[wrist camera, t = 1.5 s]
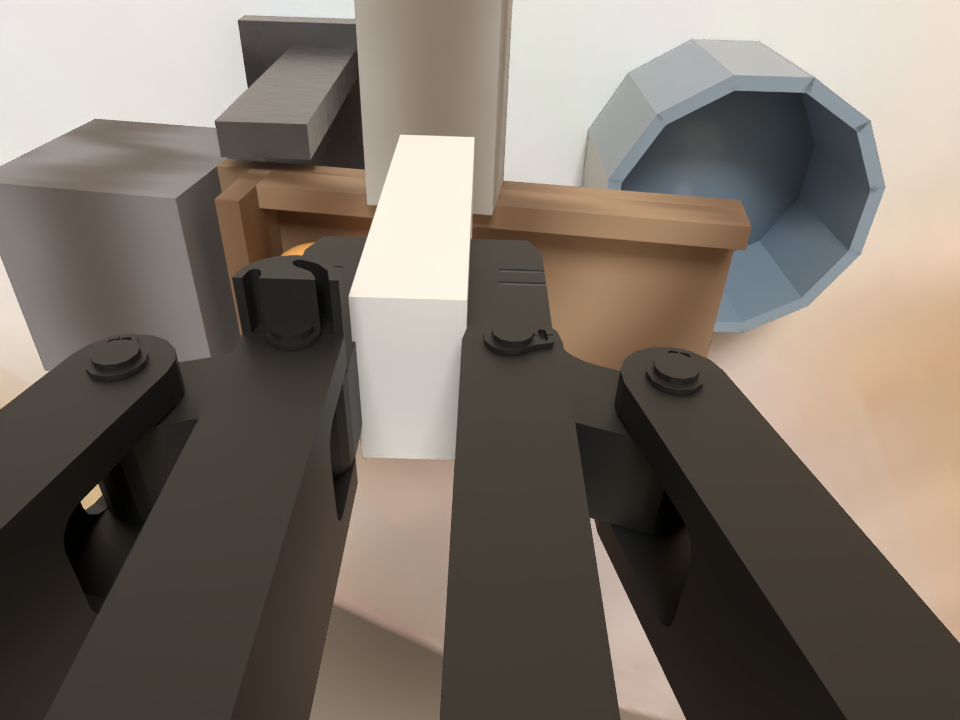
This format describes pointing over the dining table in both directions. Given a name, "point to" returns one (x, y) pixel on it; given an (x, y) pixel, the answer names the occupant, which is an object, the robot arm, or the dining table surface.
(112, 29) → the dining table surface
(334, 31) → the lever stand
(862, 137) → the cup
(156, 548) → the robot arm
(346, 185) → the lever
